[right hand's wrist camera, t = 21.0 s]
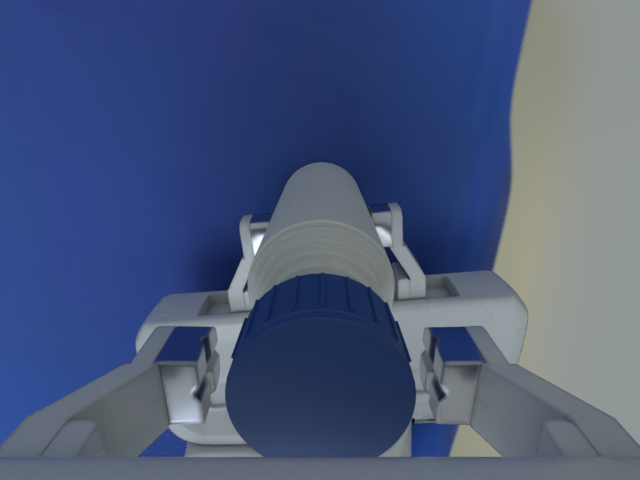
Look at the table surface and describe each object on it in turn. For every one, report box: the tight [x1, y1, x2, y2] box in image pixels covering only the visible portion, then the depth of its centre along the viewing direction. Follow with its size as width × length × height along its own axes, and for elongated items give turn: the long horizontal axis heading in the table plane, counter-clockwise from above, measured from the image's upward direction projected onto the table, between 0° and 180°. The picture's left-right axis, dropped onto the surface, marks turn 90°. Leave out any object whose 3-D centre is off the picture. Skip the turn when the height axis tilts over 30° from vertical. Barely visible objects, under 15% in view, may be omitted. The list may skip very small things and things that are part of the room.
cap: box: [225, 272, 416, 457], centre depth 9 cm, size 4×4×2 cm
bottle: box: [247, 162, 395, 311], centre depth 17 cm, size 5×5×17 cm
